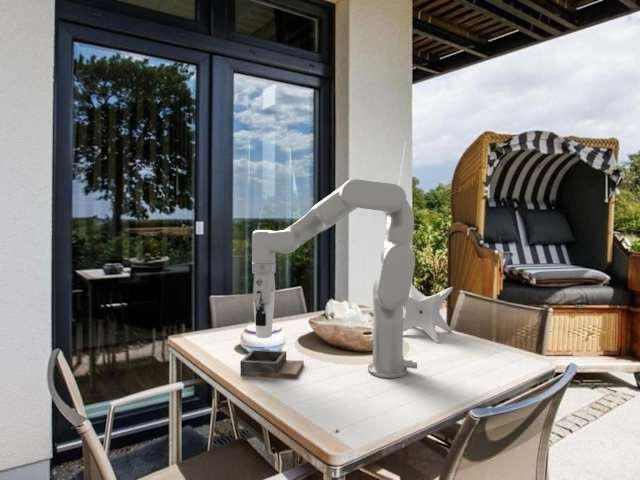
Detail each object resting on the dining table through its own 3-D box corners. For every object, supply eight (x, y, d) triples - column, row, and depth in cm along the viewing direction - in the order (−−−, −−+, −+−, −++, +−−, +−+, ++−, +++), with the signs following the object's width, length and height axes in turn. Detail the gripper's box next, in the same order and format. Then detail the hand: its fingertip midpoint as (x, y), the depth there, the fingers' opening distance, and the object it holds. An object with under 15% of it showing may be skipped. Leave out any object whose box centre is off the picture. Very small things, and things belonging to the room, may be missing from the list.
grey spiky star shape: (452, 332, 186) (453, 287, 185) (438, 343, 169) (439, 294, 168) (408, 326, 196) (408, 283, 195) (391, 336, 179) (392, 289, 178)
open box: (303, 365, 144) (303, 352, 143) (296, 378, 132) (296, 364, 131) (252, 362, 146) (252, 349, 146) (240, 375, 134) (240, 361, 134)
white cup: (270, 339, 135) (270, 292, 134) (250, 338, 136) (250, 292, 136) (276, 334, 142) (276, 289, 141) (257, 333, 143) (257, 288, 142)
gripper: (267, 271, 129) (267, 330, 130) (281, 265, 146) (281, 317, 147) (243, 271, 130) (244, 329, 131) (260, 264, 147) (260, 316, 148)
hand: (263, 322), depth 139 cm, fingers closed on white cup, 6 cm apart
